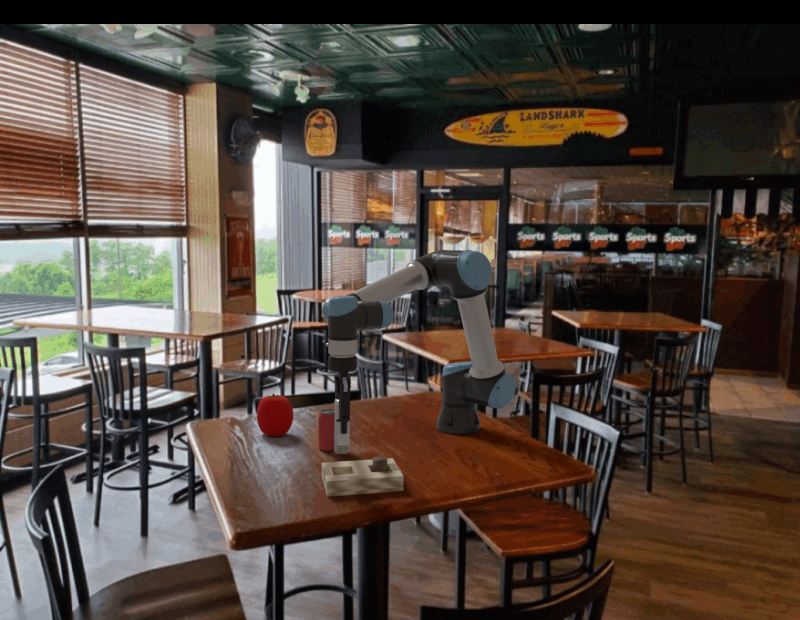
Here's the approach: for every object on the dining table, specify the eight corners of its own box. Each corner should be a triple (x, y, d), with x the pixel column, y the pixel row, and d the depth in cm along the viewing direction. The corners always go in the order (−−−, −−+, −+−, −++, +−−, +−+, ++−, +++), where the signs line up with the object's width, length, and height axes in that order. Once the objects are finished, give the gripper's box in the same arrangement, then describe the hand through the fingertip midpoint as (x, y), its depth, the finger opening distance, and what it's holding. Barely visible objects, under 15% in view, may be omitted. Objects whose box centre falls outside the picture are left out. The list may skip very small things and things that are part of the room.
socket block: (392, 471, 183) (392, 449, 182) (403, 490, 169) (403, 466, 169) (321, 476, 179) (321, 454, 178) (326, 496, 165) (326, 472, 164)
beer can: (336, 452, 199) (336, 414, 197) (315, 451, 200) (315, 413, 199) (342, 446, 205) (342, 409, 204) (322, 444, 206) (322, 407, 205)
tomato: (249, 437, 213) (248, 395, 212) (268, 427, 224) (267, 387, 222) (281, 442, 209) (281, 399, 207) (300, 432, 219) (299, 391, 217)
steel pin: (348, 448, 174) (348, 397, 173) (350, 453, 170) (350, 401, 169) (333, 449, 173) (333, 398, 172) (335, 454, 169) (335, 402, 168)
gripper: (325, 349, 176) (324, 433, 179) (331, 361, 160) (331, 453, 162) (352, 349, 178) (351, 432, 180) (361, 360, 161) (361, 451, 164)
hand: (342, 442), depth 171 cm, fingers closed on steel pin, 4 cm apart
